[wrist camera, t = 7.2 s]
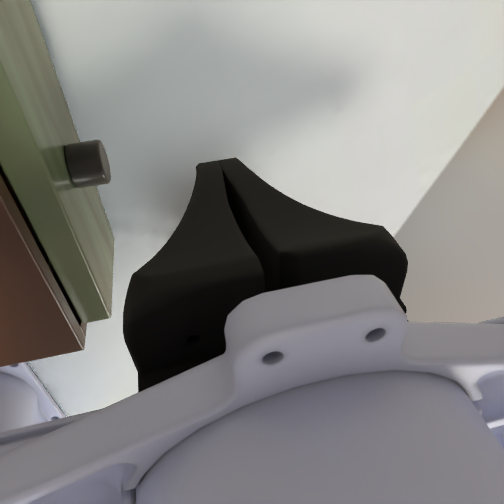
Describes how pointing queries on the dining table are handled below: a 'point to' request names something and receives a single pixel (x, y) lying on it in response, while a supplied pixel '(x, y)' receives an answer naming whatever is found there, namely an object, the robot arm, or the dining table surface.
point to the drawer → (53, 166)
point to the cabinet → (31, 296)
